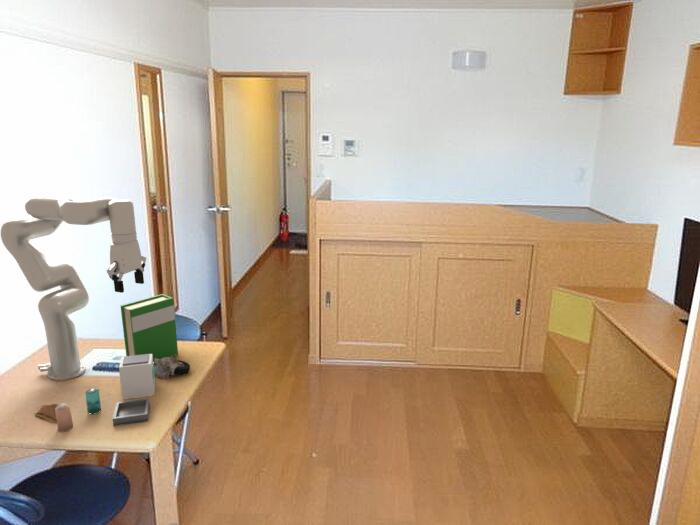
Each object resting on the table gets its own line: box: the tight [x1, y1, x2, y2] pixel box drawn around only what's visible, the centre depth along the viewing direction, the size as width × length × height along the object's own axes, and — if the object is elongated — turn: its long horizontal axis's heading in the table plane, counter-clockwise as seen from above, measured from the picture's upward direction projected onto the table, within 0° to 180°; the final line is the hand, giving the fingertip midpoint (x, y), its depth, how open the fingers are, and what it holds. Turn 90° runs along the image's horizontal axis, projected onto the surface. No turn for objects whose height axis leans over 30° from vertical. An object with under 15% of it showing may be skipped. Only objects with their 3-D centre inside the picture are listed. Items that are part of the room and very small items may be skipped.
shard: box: [34, 403, 62, 424], centre depth 167 cm, size 11×8×2 cm
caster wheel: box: [153, 356, 191, 381], centre depth 195 cm, size 7×11×10 cm
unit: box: [118, 354, 156, 400], centre depth 181 cm, size 11×8×13 cm
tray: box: [112, 397, 151, 427], centre depth 168 cm, size 10×10×2 cm
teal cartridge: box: [84, 387, 102, 415], centre depth 169 cm, size 4×4×8 cm
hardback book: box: [119, 293, 179, 362], centre depth 204 cm, size 18×7×24 cm, turn 140°
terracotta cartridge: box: [55, 403, 74, 432], centre depth 160 cm, size 4×4×8 cm
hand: (129, 287), depth 176 cm, fingers open, 9 cm apart
